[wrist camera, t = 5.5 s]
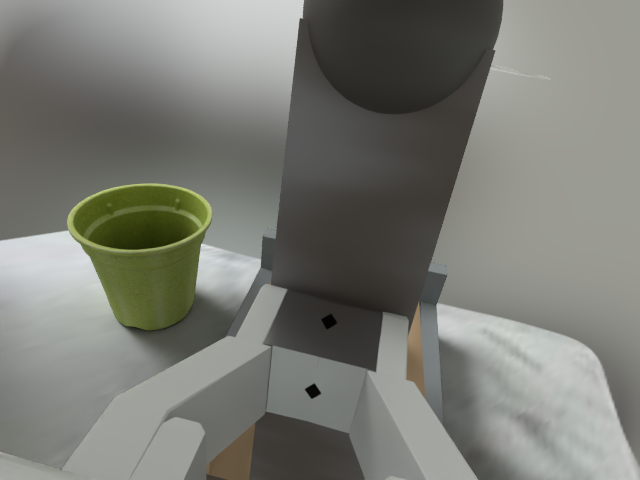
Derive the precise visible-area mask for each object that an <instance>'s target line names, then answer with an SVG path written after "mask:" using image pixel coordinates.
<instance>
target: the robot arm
mask: <svg viewBox="0 0 640 480" xmlns="http://www.w3.org/2000/svg"><path fill="white" fill-rule="evenodd" d="M408 324H409V320H408V318H407V317H406V316H401V315H396V314H392V313H387V312H380V311H376V310H371V309H367V308H362V307H358V306H354V305H349V304H345V303H341V302H336V301H332V300H329V299H325V298H321V297H317V296H313V295H309V294H306V293H302V292H298V291H294V290H290V289H289V290H288V289H285V288H281V287H277V286H273V285H269V284H265V285H264V286H263V287H261V289H260V291H259V293H258V295H257V297H256V299H255V301H254V303H253V304H252V306H251V308H250V310H249V312H248V314H247V316H246V318H245V320H244V322H243V324H242V326H241V328H240V329H239V331H238V333H237V335H236V337H232V336H227V337H225V338H223V339H221V340H219V341H217V342H216V343H214V344H212V345H210V346H208V347H206V348H204V349H203V350H201V351H199V352H197V353H195V354H193V355H191V356H190V357H188V358H186V359H184V360H182V361H180V362H179V363H177V364H175V365H173V366H171V367H169V368H167V369H166V370H164V371H162V372H160V373H158V374H156V375H154V376H153V377H151V378H149V379H147V380H145V381H143V382H142V383H140V384H138V385H136V386H134V387H132V388H130V389H129V390H127V391H125V392H123V393H121V394H119V395H117V396H116V397H114V398H113V400H112V401H111V402H110V404H109V405H108V406H107V408H106V409H105V410H104V412H103V413H102V415H101V416H100V417H99V419H98V420H97V421H96V423H95V424H94V425H93V427H92V428H91V429H90V431H89V432H88V434H87V435H86V436H85V438H84V439H83V440H82V442H81V443H80V444H79V446H78V447H77V448H76V450H75V451H74V453H73V454H72V455H71V457H70V458H69V459H68V461H67V462H66V463H65V465H64V466H63V467H62V469H57V468H54V467H51V466H47V465H44V464H40V463H37V462H34V461H30V460H27V459H23V458H20V457H17V456H13V455H10V454H6V453H3V452H0V480H206V465H207V464H208V463H209V462H210V461H212V460H213V459H214V458H215V457H216V456H217V455H218V454H220V453H221V452H222V451H223V450H224V449H225V448H227V447H228V446H229V445H230V444H231V443H232V442H233V441H235V440H236V439H237V438H238V437H239V436H240V435H241V434H243V433H244V432H245V431H246V430H247V429H248V428H249V427H251V426H252V425H253V424H254V423H255V422H256V421H257V420H259V419H260V418H261V417H262V416H263V415H264V414H265V411H266V412H271V413H275V414H279V415H283V416H288V417H292V418H296V419H300V420H305V421H308V422H312V423H315V424H319V425H322V426H325V427H329V428H332V429H335V430H339V431H342V432H346V433H349V437H350V440H351V442H352V445H353V448H354V450H355V453H356V456H357V459H358V461H359V464H360V467H361V469H362V472H363V475H364V478H365V480H478V479H477V477H476V476H475V474H474V473H473V471H472V470H471V468H470V467H469V465H468V464H467V462H466V460H465V459H464V457H463V456H462V454H461V453H460V451H459V450H458V448H457V447H456V445H455V444H454V442H453V441H452V439H451V438H450V436H449V435H448V433H447V432H446V430H445V428H444V427H443V425H442V424H441V422H440V421H439V419H438V418H437V416H436V415H435V413H434V412H433V410H432V409H431V407H430V406H429V404H428V403H427V401H426V399H425V398H424V396H423V395H422V393H421V392H420V390H419V389H418V387H417V386H416V384H415V383H414V382H412V381H408V380H406V377H407V350H408Z"/></svg>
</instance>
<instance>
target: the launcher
mask: <svg viewBox="0 0 640 480" xmlns="http://www.w3.org/2000/svg"><path fill="white" fill-rule="evenodd" d="M502 11H503V0H304V7H303V19H300V22H299V31H298V40H297V49H296V58H295V67H294V76H293V85H292V94H291V104H290V112H289V121H288V130H287V140H286V149H285V158H284V168H283V176H282V186H281V194H280V203H279V213H278V222H277V230H276V240H275V249H274V258H273V267H272V276H271V282H270V284H269V285H273V286H277V287H281V288H285V289H288V290H289V289H290V290H294V291H298V292H302V293H306V294H309V295H313V296H317V297H321V298H325V299H329V300H332V301H336V302H341V303H345V304H349V305H354V306H358V307H362V308H367V309H371V310H376V311H380V312H387V313H392V314H396V315H401V316H406V317H407V318H408V320H409V324H408V350H407V377H406V380H408V381H412V382H414V383H415V384H416V386H417V387H418V389H419V390H420V392H421V393H422V395H423V396H424V398H425V386H424V370H423V355H422V339H421V324H420V308H419V299H420V296H421V293H422V289H423V286H424V283H425V280H426V276H427V273H428V270H429V266H430V263H431V260H432V257H433V253H434V250H435V247H436V243H437V240H438V237H439V234H440V230H441V227H442V224H443V220H444V217H445V214H446V211H447V207H448V204H449V201H450V198H451V194H452V191H453V188H454V185H455V181H456V178H457V175H458V171H459V168H460V165H461V162H462V158H463V155H464V152H465V148H466V145H467V142H468V138H469V135H470V132H471V128H472V125H473V122H474V119H475V116H476V112H477V109H478V106H479V103H480V99H481V96H482V93H483V89H484V86H485V83H486V79H487V76H488V73H489V70H490V67H491V63H492V60H493V57H494V53H495V50H493V48H494V45H495V43H496V40H497V37H498V34H499V29H500V25H501V20H502ZM206 480H365V478H364V475H363V472H362V469H361V467H360V464H359V461H358V459H357V456H356V453H355V450H354V448H353V445H352V442H351V440H350V437H349V433H346V432H342V431H339V430H335V429H332V428H329V427H325V426H322V425H319V424H315V423H312V422H308V421H305V420H300V419H296V418H292V417H288V416H283V415H279V414H275V413H271V412H266V411H265V414H264V415H263V416H262V417H261V418H260V419H259V420H257V421H256V422H255V423H254V424H253V425H252V426H251V427H249V428H248V429H247V430H246V431H245V432H244V433H243V434H241V435H240V436H239V437H238V438H237V439H236V440H235V441H233V442H232V443H231V444H230V445H229V446H228V447H227V448H225V449H224V450H223V451H222V452H221V453H220V454H218V455H217V456H216V457H215V458H214V459H213V460H212V461H210V462H209V463H208V464H207V465H206Z"/></svg>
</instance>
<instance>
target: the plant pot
mask: <svg viewBox="0 0 640 480" xmlns="http://www.w3.org/2000/svg"><path fill="white" fill-rule="evenodd" d="M211 221H212V209H211V206H210V205H209V203H208V202H207V201H206V200H205V199H204V198H203V197H202V196H200V195H198V194H196V193H195V192H193V191H190V190H188V189H184V188H181V187H177V186H171V185H164V184H134V185H126V186H121V187H115V188H111V189H108V190H104V191H101V192H99V193H97V194H94V195H92V196H90V197H88V198H86V199H85V200H83V201H82V202H80V203H79V204H77V205H76V206H75V207H74V208H73V210H72V211H71V212H70V214H69V217H68V220H67V225H68V229H69V232H70V234H71V235H72V237H73V238H74V239H75V240H76V241H77V242H79V243H80V244H81V246H82V248H83V250H84V251H85V252H86V253H87V254H88V255H89V256H90V258H91V261H92V263H93V265H94V267H95V270H96V272H97V274H98V277H99V279H100V281H101V283H102V286H103V288H104V291H105V293H106V295H107V298H108V300H109V303H110V306H111V308H112V310H113V313H114V315H115V317H116V319H117V320H118V321H119V322H120V323H121V324H123V325H125V326H127V327H128V326H133V327H138V328H141V329H144V330H157V329H162V328H165V327H169V326H171V325H173V324H175V323H177V322H179V321H180V320H182V319H183V318H184V317H185V316H186V315H187V313H188V311H189V310H190V308H191V307H192V305H193V303H194V295H195V287H196V278H197V271H198V262H199V254H200V247H201V243H202V242H203V239H204V237H205V232H206V230H207V229H208V228H209V226H210V224H211Z"/></svg>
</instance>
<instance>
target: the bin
mask: <svg viewBox="0 0 640 480" xmlns="http://www.w3.org/2000/svg"><path fill="white" fill-rule="evenodd" d="M275 240H276V230H274V229H269V228H267V230H266V231H265V233H264V235H263V241H262V257H261V268H260V270H259V272H258V274H257V276H256V278H255V280H254V282H253V284H252V286H251V288H250V290H249V292H248V294H247V296H246V297H245V299H244V301H243V303H242V305H241V307H240V309H239V311H238V313H237V315H236V317H235V319H234V321H233V323H232V325H231V327H230V329H229V331H228V333H227V335H226V337H227V336H232V337H236V335H237V333H238V331H239V329H240V328H241V326H242V324H243V322H244V320H245V318H246V316H247V314H248V312H249V310H250V308H251V306H252V304H253V303H254V301H255V299H256V297H257V295H258V293H259V291H260V289H261V287H263V286H264V285H265V284H270V282H271V276H272V267H273V258H274V249H275ZM446 277H447V266H446V265H441V264H436V263H432V262H431V263H430V266H429V270H428V273H427V276H426V280H425V283H424V286H423V289H422V293H421V296H420V299H419V308H420V324H421V339H422V355H423V370H424V386H425V399H426V401H427V403H428V404H429V406H430V407H431V409H432V410H433V412H434V413H435V415H436V416H437V418H438V419H439V421H440V422H441V424H442V425H443V427H444V420H443V404H442V389H441V373H440V357H439V341H438V325H437V309H436V305H437V302H438V299H439V297H440V294H441V291H442V288H443V286H444V283H445V280H446Z"/></svg>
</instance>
